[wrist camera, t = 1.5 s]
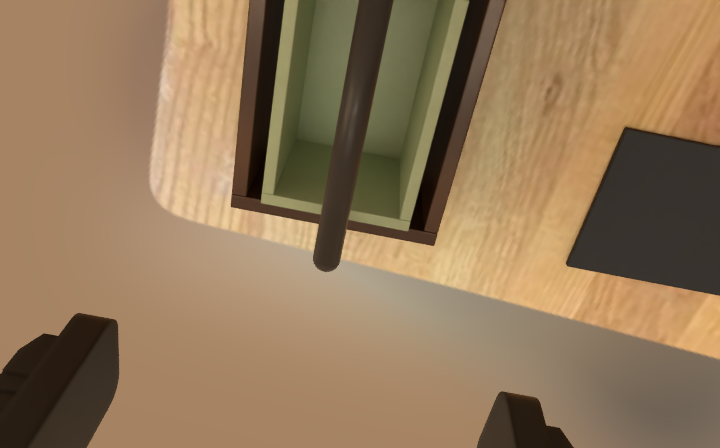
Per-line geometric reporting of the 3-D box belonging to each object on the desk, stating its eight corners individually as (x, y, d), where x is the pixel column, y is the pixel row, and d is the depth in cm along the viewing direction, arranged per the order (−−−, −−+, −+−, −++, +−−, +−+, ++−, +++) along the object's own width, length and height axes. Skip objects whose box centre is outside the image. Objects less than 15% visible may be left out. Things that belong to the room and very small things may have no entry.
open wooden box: (285, -116, 31) (259, -114, 25) (502, -70, 31) (523, -57, 26) (255, 159, 39) (230, 207, 33) (429, 193, 39) (433, 246, 34)
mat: (624, 127, 36) (626, 129, 36) (846, 172, 37) (850, 175, 37) (565, 263, 41) (567, 266, 41) (761, 301, 42) (764, 304, 42)
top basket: (316, -76, 31) (269, -48, 20) (459, -45, 32) (491, -2, 21) (285, 147, 38) (237, 260, 26) (405, 170, 38) (407, 292, 27)
